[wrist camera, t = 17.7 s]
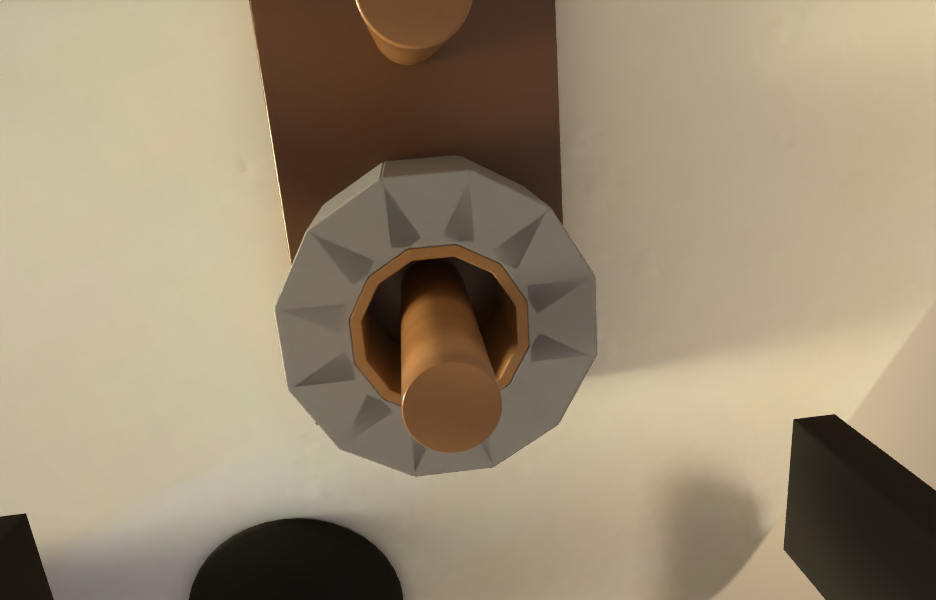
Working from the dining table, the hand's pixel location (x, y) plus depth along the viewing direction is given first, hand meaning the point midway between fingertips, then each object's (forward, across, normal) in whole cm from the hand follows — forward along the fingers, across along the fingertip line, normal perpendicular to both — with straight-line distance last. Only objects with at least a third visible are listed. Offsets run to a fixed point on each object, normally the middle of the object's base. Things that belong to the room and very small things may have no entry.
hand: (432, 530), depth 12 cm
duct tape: (+17, +1, -1) cm, 17 cm away
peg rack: (+18, +1, +4) cm, 19 cm away
